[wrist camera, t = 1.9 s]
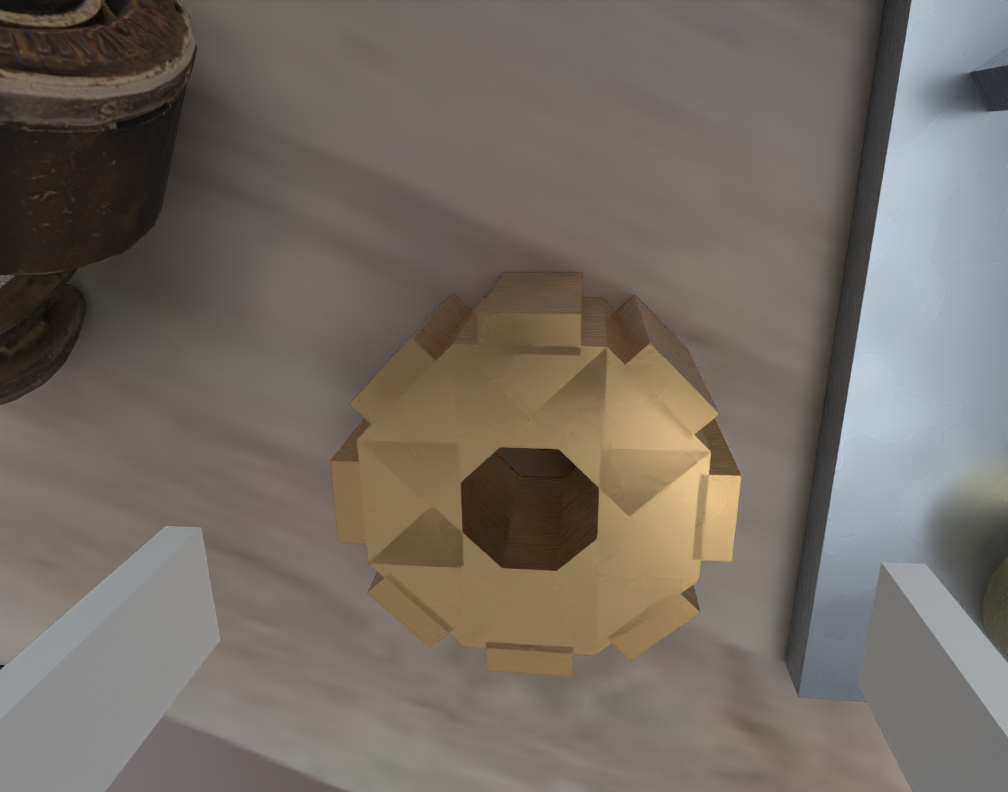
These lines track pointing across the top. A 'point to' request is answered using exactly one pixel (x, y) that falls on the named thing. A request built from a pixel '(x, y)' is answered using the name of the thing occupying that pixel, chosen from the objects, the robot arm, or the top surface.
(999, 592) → the carrier
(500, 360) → the gear
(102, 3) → the mechanical counter
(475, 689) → the top surface
